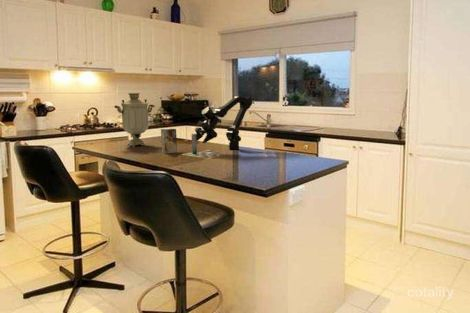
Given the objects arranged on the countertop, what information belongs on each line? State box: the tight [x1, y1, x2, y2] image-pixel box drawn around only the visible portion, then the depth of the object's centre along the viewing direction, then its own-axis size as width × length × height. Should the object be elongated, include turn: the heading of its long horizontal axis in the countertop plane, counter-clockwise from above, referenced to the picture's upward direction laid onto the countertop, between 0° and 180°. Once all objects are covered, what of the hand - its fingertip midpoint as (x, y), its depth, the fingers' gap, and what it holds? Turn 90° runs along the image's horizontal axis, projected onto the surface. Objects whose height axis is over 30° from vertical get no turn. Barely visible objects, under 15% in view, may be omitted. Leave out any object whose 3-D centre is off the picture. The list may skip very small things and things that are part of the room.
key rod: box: [191, 133, 198, 154], centre depth 259 cm, size 3×3×13 cm
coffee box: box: [160, 128, 178, 154], centre depth 274 cm, size 9×6×16 cm
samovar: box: [113, 92, 156, 148], centre depth 307 cm, size 30×26×40 cm
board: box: [181, 149, 222, 159], centre depth 256 cm, size 26×12×4 cm, turn 51°
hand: (199, 142), depth 262 cm, fingers open, 9 cm apart
